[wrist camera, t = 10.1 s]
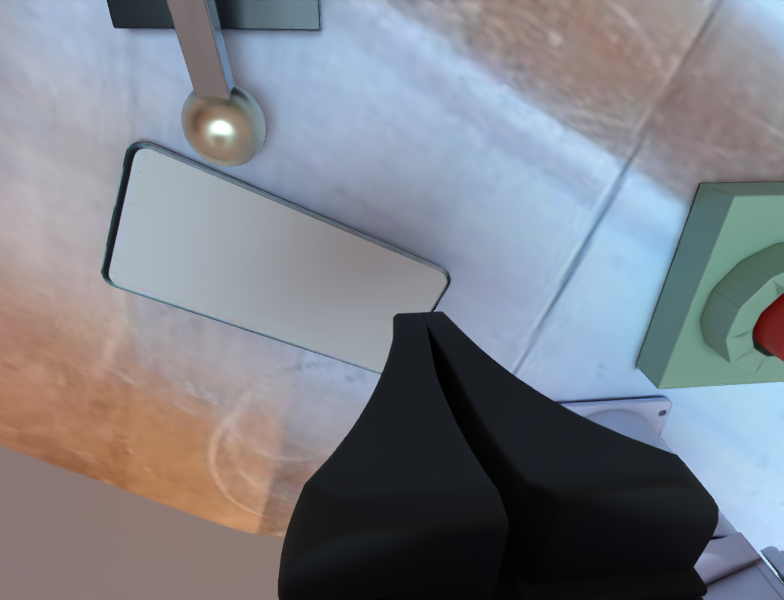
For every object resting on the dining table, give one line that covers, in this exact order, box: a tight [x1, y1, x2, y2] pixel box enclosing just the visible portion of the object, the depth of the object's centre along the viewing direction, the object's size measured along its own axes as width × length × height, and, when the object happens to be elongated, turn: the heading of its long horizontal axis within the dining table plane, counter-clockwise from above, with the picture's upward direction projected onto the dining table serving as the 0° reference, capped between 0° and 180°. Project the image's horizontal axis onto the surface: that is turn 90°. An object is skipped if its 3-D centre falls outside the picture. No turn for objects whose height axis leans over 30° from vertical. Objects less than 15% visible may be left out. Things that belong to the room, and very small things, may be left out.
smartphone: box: [101, 142, 451, 374], centre depth 21 cm, size 7×1×15 cm
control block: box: [636, 182, 784, 389], centre depth 22 cm, size 11×8×4 cm
